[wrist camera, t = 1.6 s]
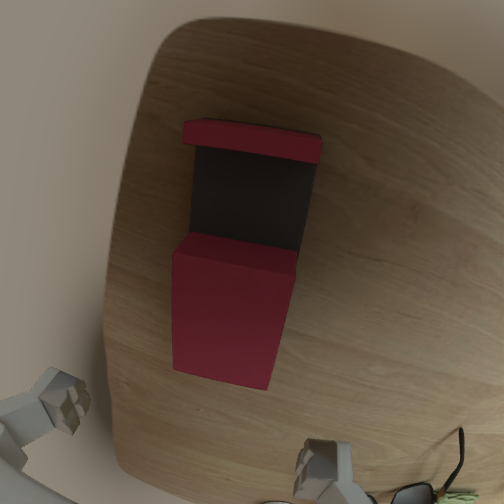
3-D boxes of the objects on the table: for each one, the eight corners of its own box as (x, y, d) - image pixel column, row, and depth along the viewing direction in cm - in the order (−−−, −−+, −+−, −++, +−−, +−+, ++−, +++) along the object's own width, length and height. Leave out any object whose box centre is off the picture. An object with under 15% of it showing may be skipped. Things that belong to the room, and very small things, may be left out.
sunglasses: (462, 425, 23) (473, 465, 19) (432, 484, 29) (436, 514, 25) (326, 449, 26) (325, 492, 22) (330, 500, 32) (329, 531, 28)
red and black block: (205, 117, 16) (177, 121, 12) (320, 134, 15) (326, 142, 12) (190, 330, 22) (171, 369, 18) (275, 348, 22) (268, 391, 18)
